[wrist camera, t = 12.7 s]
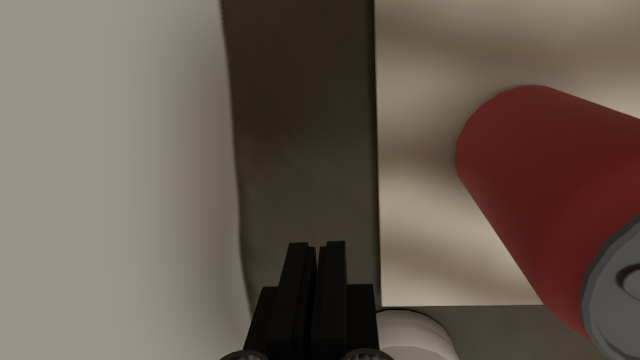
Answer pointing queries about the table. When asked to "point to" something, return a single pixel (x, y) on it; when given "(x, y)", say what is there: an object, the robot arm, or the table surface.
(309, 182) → the table surface
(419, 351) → the bottle
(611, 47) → the birch board
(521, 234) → the beer can
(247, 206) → the table surface
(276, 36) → the table surface
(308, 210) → the table surface
